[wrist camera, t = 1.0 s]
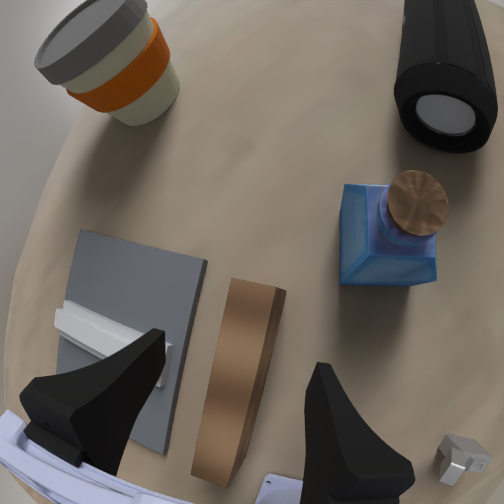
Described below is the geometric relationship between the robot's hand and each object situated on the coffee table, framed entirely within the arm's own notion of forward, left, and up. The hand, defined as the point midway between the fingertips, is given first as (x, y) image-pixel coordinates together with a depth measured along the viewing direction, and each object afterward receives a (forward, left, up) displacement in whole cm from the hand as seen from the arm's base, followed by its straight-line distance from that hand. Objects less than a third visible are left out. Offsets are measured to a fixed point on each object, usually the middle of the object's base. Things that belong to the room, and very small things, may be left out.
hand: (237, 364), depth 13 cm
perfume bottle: (+9, -7, -12) cm, 16 cm away
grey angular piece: (-7, -19, -12) cm, 23 cm away
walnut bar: (-4, +1, -12) cm, 12 cm away
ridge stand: (-5, +15, -11) cm, 20 cm away
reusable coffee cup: (+23, +21, -12) cm, 33 cm away
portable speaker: (+32, -13, -12) cm, 36 cm away
